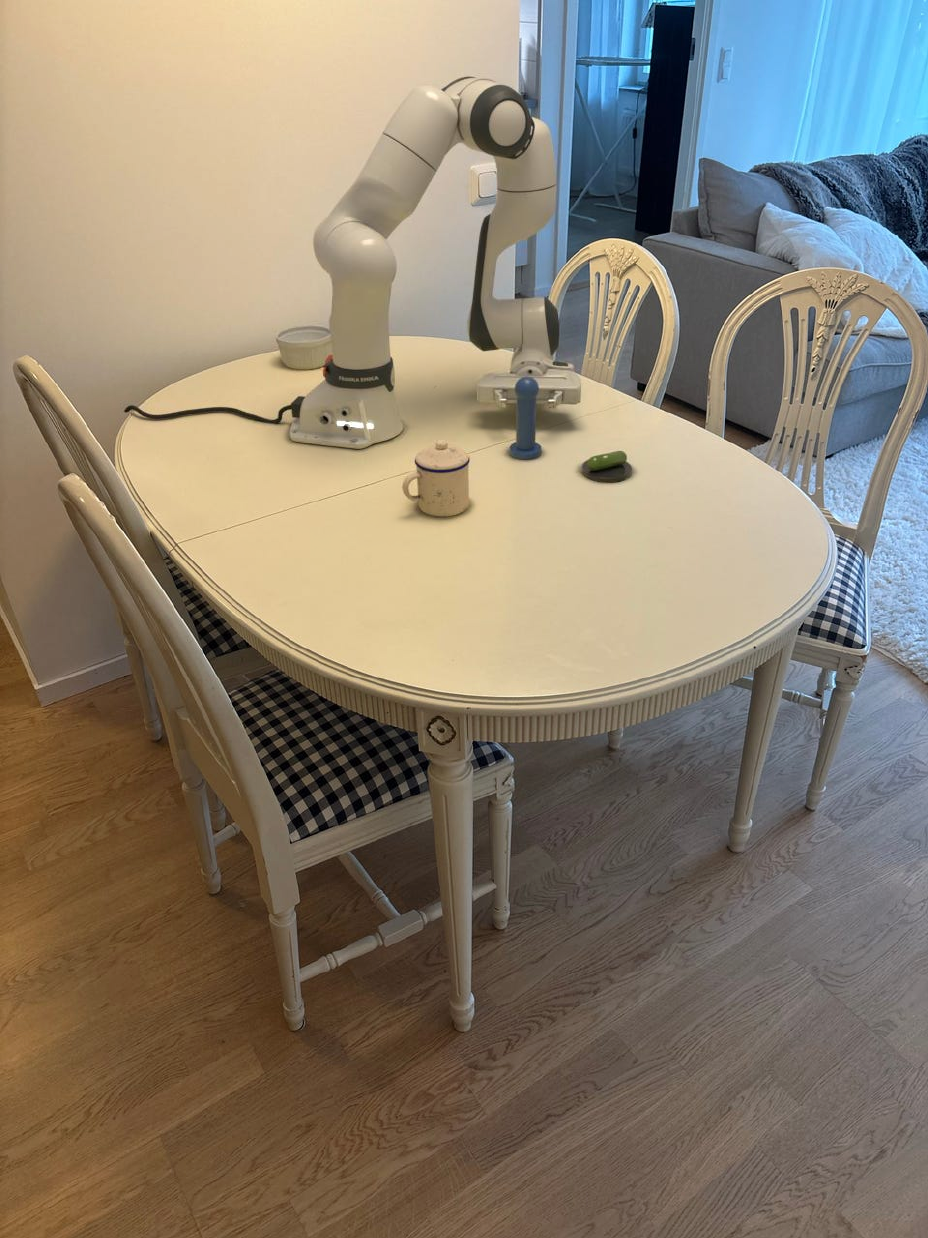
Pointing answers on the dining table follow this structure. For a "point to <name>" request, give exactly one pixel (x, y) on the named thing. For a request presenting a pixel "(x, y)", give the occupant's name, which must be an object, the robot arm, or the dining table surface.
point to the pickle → (607, 467)
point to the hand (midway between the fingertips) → (527, 404)
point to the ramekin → (304, 346)
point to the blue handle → (526, 420)
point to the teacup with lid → (441, 480)
